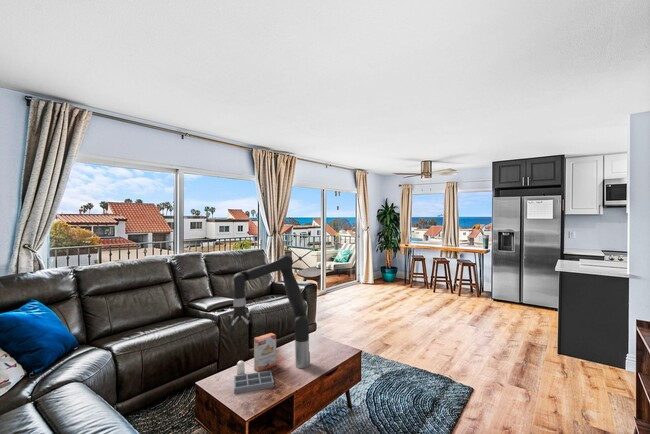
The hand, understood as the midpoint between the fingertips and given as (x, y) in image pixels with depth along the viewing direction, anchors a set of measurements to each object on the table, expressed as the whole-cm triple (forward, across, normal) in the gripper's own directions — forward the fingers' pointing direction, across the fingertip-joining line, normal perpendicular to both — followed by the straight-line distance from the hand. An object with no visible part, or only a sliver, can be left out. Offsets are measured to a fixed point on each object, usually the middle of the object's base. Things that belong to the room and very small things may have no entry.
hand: (240, 330), depth 203 cm
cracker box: (+28, -16, -4) cm, 33 cm away
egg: (+28, 0, 0) cm, 28 cm away
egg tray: (+28, -7, +15) cm, 33 cm away
